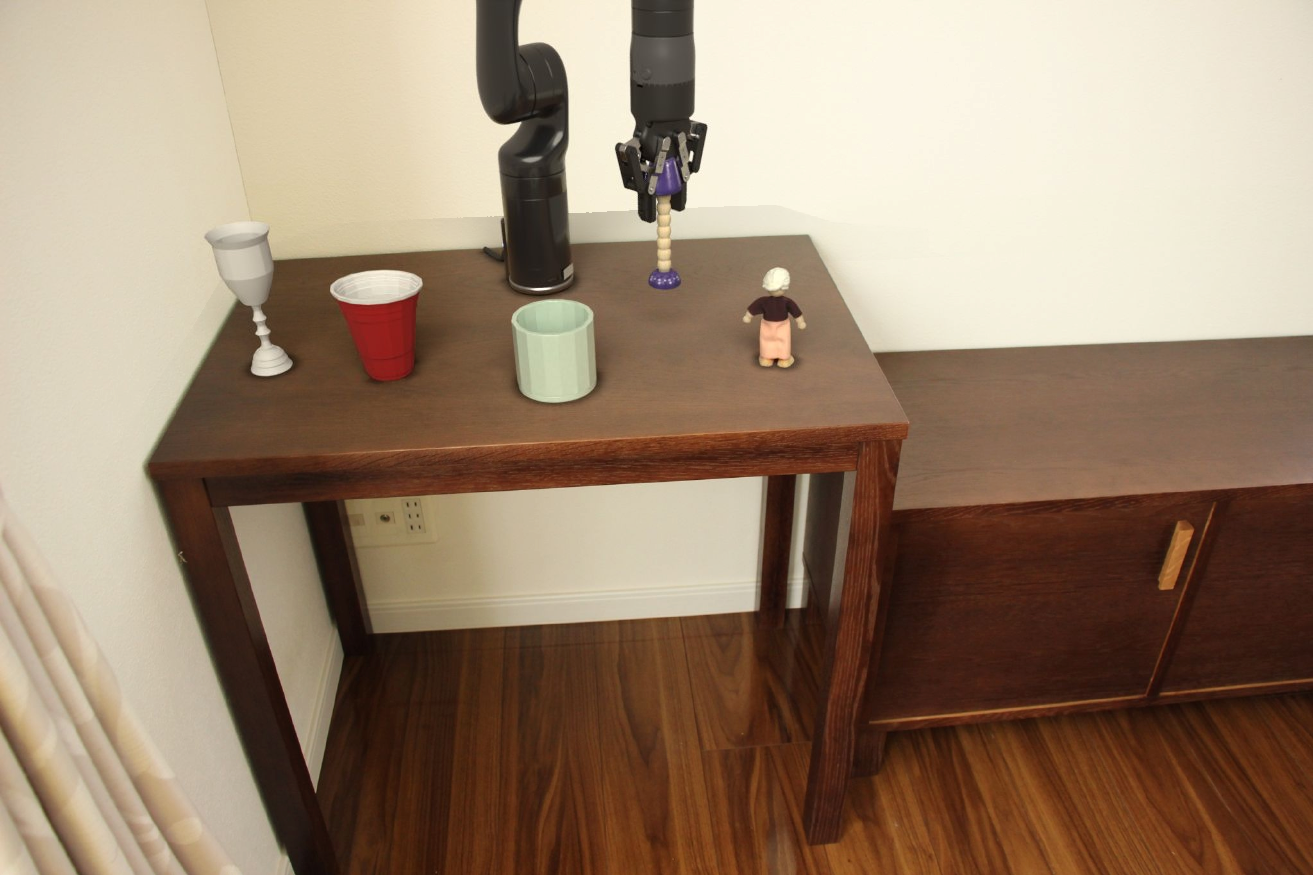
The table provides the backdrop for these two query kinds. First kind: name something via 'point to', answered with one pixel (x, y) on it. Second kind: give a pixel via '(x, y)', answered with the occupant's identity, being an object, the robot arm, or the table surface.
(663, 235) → the toy lamp
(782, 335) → the grandmother figurine
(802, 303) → the table surface
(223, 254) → the chalice
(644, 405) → the table surface
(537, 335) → the glazed cup
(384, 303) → the plastic cup
